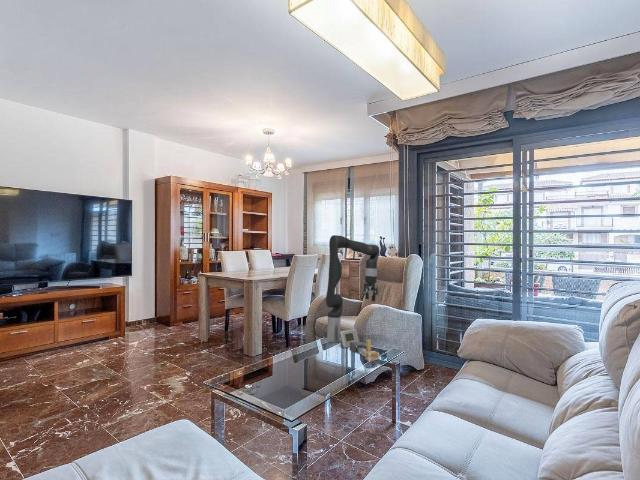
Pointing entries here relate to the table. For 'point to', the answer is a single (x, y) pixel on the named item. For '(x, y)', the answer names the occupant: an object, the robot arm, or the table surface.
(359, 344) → the sleeve
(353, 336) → the digital clock
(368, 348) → the tube
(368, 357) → the tan block
